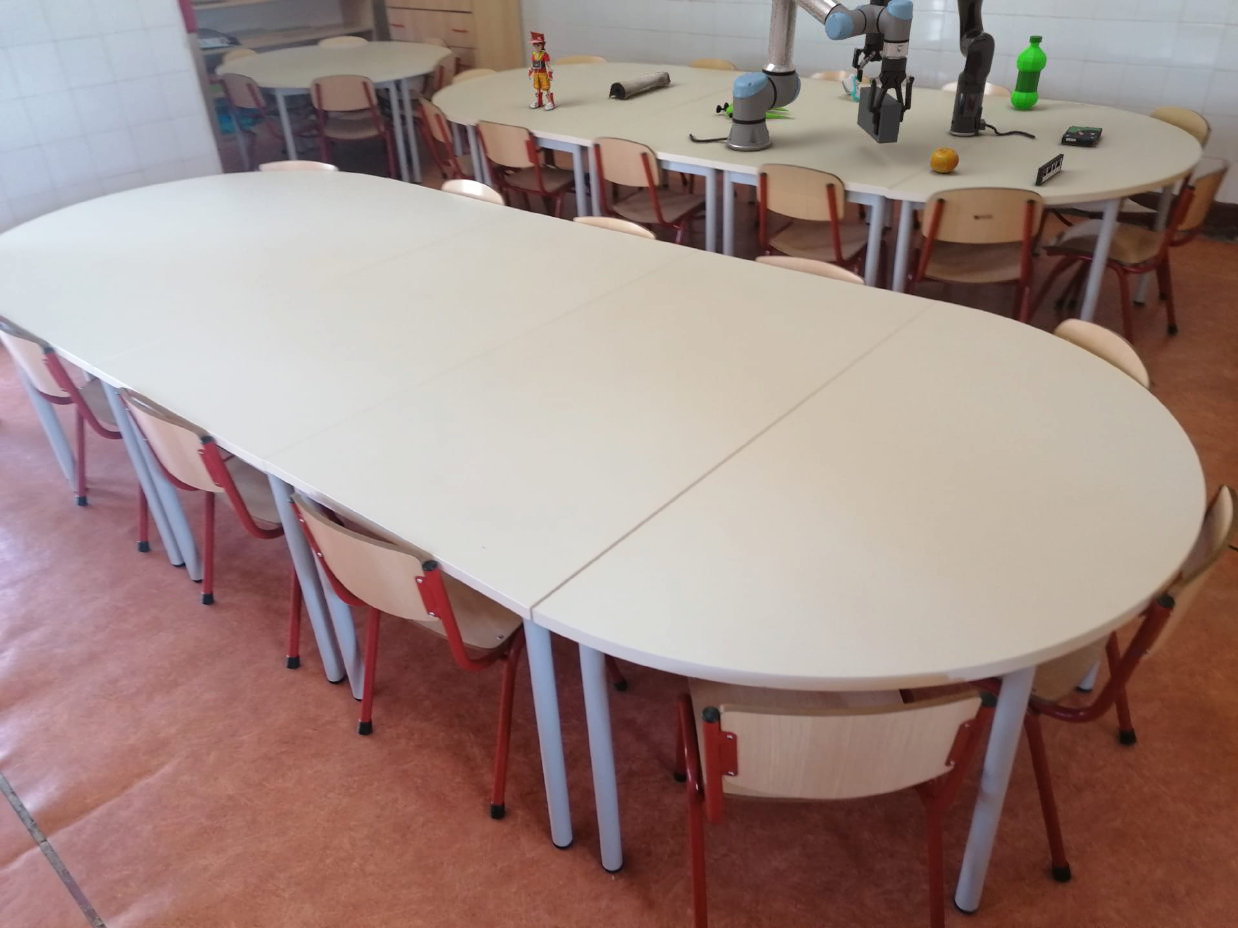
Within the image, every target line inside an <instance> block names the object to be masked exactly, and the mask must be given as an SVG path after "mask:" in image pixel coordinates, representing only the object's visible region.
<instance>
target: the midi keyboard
mask: <svg viewBox="0 0 1238 928" xmlns="http://www.w3.org/2000/svg"><path fill="white" fill-rule="evenodd" d="M1064 157H1065V153H1059V154H1058V155H1056V156H1055V157H1052V159H1051V160H1049V161H1047V162H1045V164H1042V165H1041V166H1039V167H1038V169H1037V175H1036V179H1035V186H1040V185H1042V183H1044V182H1045V181H1047V180H1048V179H1049V178H1051V177H1052V176H1054V175H1055V174H1056V173H1058V172H1060V171H1061V170H1062V165H1063V161H1064Z"/></svg>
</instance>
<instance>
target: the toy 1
mask: <svg viewBox="0 0 1238 928" xmlns="http://www.w3.org/2000/svg"><path fill="white" fill-rule="evenodd" d="M529 33H530V35H531V36H528V37H527V38H528V39H529V40H528V41H527V43H529V44H530V43H531V44H532V48H533V50H534V51H533V52H532V55H531V58H530V59H531V63H530V66H528V74H527V75H528V76H527V77H528V79H529V80H531V75H532V74H533V84H532V85H533V86H532V87H533V88H534V89H535V90H536V92H534V95H535V97H536V100H535V101H533V102H531V105H530V108H531V109H535V108H538V107H542V106H544V101H543V100H544V99H543V95H544V92H546V94H545V97H546V99H547V103H546V104H545V106H544V110H546V111H549V110H553V109H554V107H555V106H556V105H555V99H554V92H551V91H550V90H551V86H552V84H551V82H552V81H553V80H554V77H553V73H554V71H555V70H554V69H552V68H551V63H550V61H551V59H550V58H551V57H550V54H549V53H548V52H547V50H546V48H545V46H546V44H547V41H545V35H544V33H543V32H542V33H539V32H535V31H529Z"/></svg>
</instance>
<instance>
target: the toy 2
mask: <svg viewBox="0 0 1238 928" xmlns="http://www.w3.org/2000/svg"><path fill="white" fill-rule="evenodd" d="M722 111H724V112H725V113H726V115H728V117H729V118H730V119H731V118H732V119H733V102H732V103H731V104H729V103H728V102H727V101H725V102H724V103H723V107H722V106H721V105H720V104H717V106H716V109H715V112H716V114H720V113H721V112H722ZM770 111H778V112H779V111H781V112H789V109H786V108H784V107H779V108H775V109H771V110H770ZM777 118H781V119H783V118H785V119H792V118H793V117H791V116H786V115H781V114H776V113H773V112H772V113H771V112H768V111H766V119H777Z"/></svg>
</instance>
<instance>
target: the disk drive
mask: <svg viewBox="0 0 1238 928" xmlns="http://www.w3.org/2000/svg"><path fill="white" fill-rule="evenodd" d="M1102 132H1103V127H1094V126H1092V127H1091V126H1076V125H1071V126H1069V127H1068V129H1067V130H1066V131H1065V132H1064V134H1063V135H1062V136H1061V142H1060V144H1063V145H1072V146H1080V147H1081V146H1082V147H1094V146H1095V145H1096V143H1097V142H1098V141H1099V139H1100V137H1101V136H1102Z"/></svg>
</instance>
